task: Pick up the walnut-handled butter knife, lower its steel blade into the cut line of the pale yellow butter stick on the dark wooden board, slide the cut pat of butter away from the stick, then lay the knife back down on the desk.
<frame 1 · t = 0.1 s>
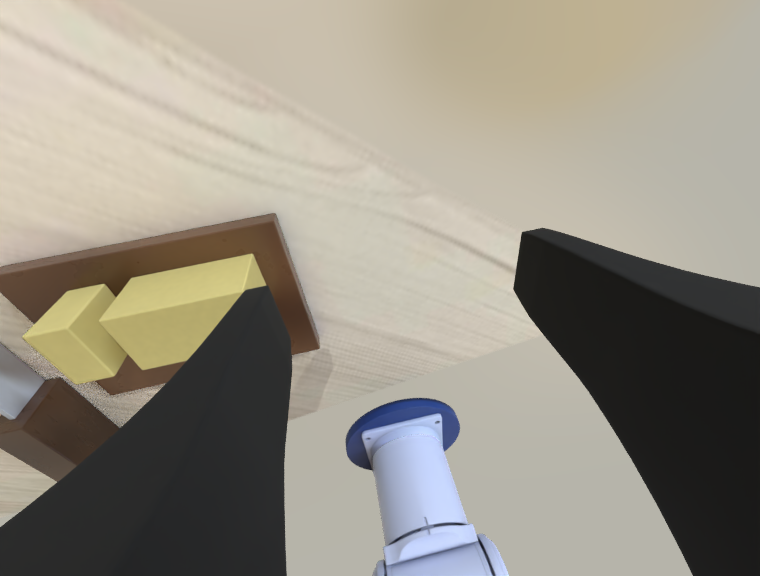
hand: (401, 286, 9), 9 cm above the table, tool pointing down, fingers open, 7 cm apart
butter pat: (107, 311, 17), point 1 cm above the table, touching butter board
butter: (207, 290, 17), point 1 cm above the table, touching butter board
knife: (43, 380, 20), on the table
butter board: (186, 308, 19), on the table
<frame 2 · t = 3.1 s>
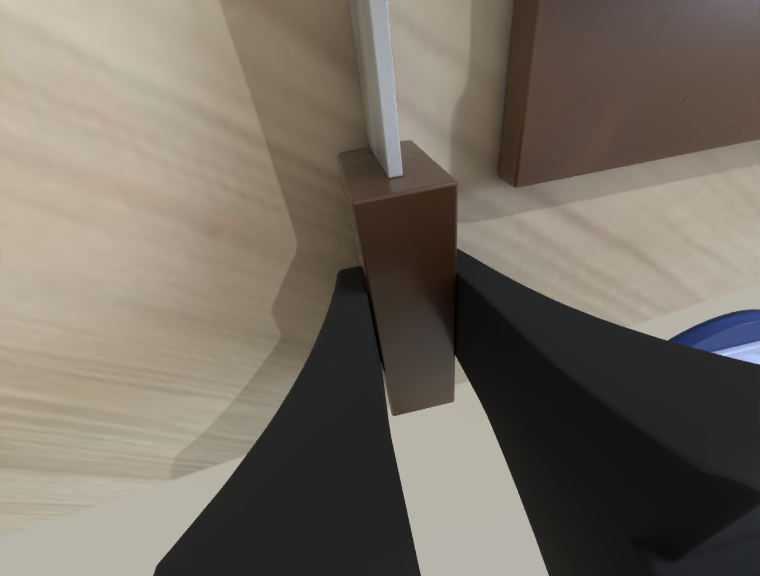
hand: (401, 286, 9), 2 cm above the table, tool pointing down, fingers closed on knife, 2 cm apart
knife: (374, 146, 9), on the table, touching gripper
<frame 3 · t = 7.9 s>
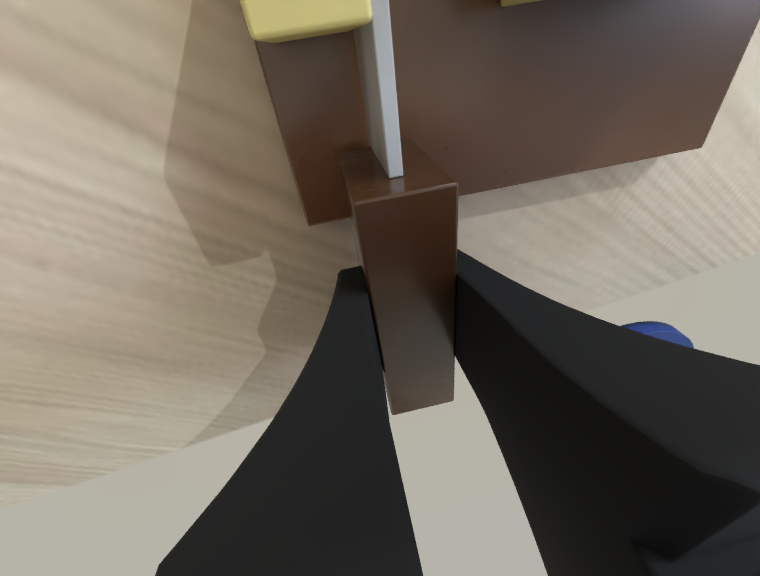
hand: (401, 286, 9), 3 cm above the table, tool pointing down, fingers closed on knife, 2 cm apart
knife: (374, 145, 9), point 1 cm above the table, touching butter pat, gripper
butter board: (514, 0, 8), on the table
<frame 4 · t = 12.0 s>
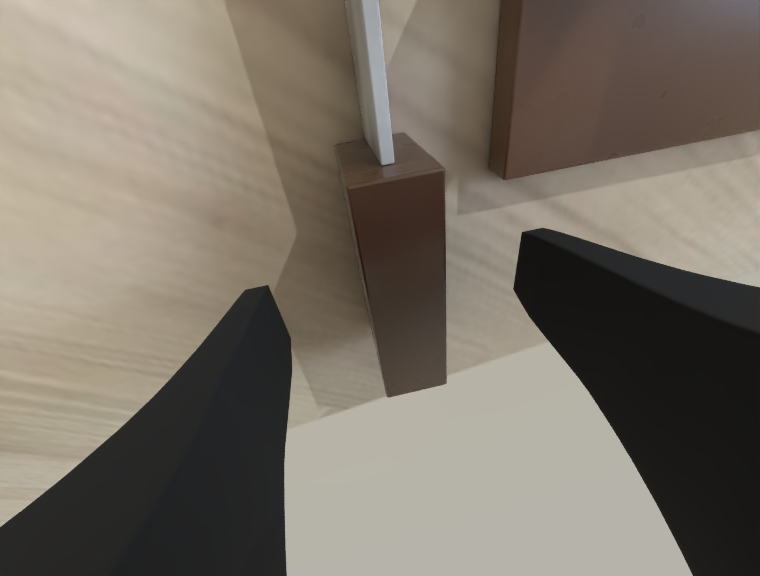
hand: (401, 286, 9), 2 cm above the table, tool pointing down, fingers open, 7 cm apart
knife: (369, 137, 9), on the table
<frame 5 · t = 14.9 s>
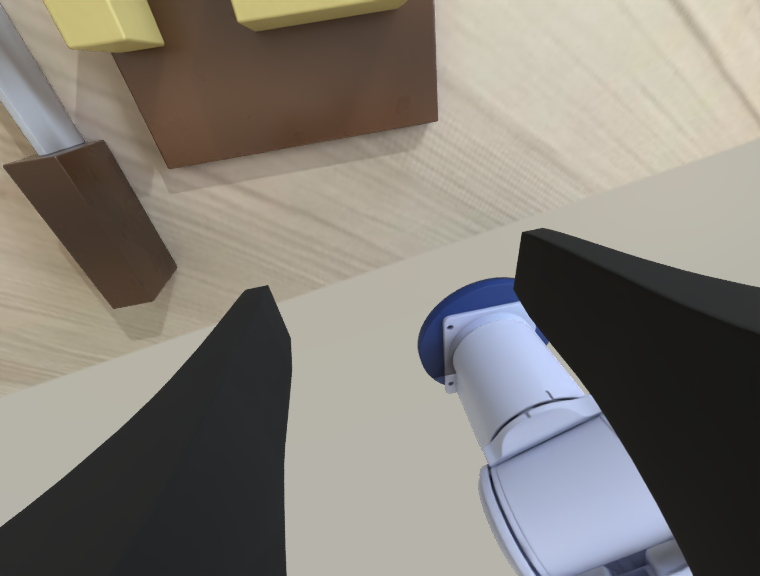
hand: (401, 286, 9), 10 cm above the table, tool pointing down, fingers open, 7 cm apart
knife: (82, 143, 15), on the table
butter board: (278, 27, 14), on the table
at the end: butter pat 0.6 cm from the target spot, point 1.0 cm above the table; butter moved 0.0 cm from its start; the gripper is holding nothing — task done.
